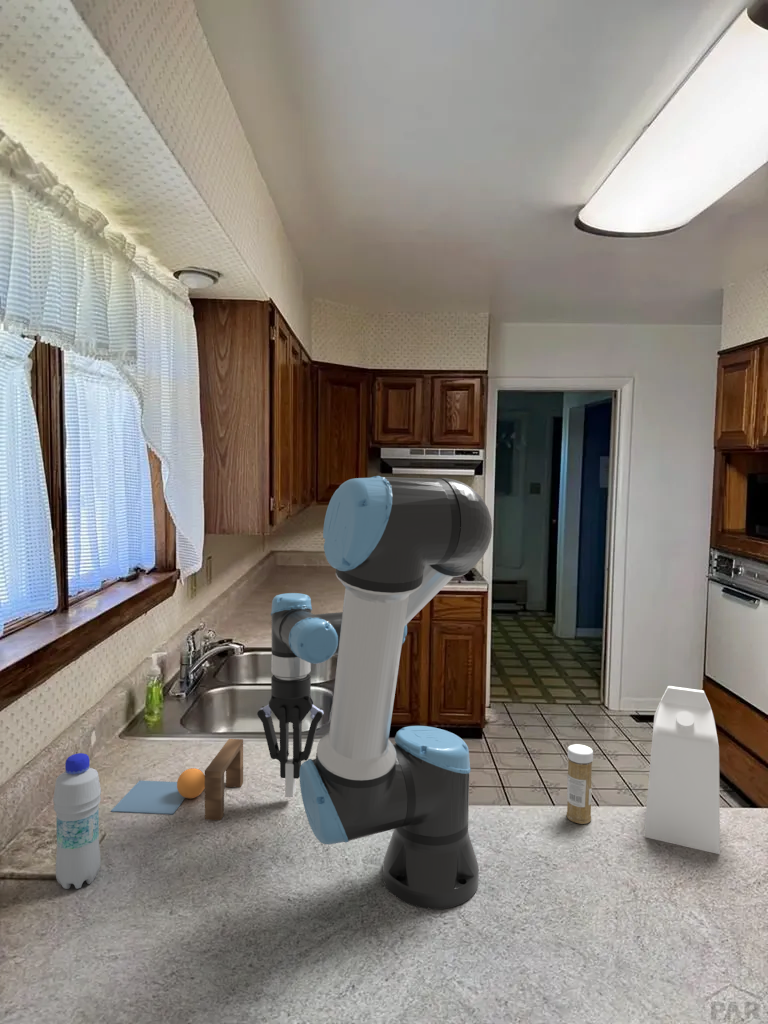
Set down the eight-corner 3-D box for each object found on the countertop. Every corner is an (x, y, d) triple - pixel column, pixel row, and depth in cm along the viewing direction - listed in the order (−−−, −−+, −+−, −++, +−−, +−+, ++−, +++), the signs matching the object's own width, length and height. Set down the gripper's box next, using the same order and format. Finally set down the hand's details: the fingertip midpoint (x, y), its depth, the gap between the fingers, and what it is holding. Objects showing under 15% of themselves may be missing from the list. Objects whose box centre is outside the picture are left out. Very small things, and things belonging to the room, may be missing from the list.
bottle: (111, 872, 100) (110, 749, 99) (78, 898, 94) (76, 767, 93) (78, 863, 102) (77, 743, 101) (44, 888, 96) (42, 760, 95)
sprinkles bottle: (596, 820, 117) (598, 750, 117) (580, 827, 115) (582, 755, 114) (576, 809, 121) (578, 741, 120) (560, 816, 118) (562, 746, 118)
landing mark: (173, 814, 118) (173, 813, 118) (111, 811, 118) (111, 810, 118) (196, 783, 130) (196, 782, 130) (139, 781, 130) (139, 780, 130)
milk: (715, 821, 117) (721, 684, 116) (719, 854, 107) (725, 704, 106) (646, 806, 122) (650, 675, 121) (643, 836, 112) (648, 693, 111)
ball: (194, 772, 121) (168, 779, 122) (202, 799, 121) (176, 806, 122) (205, 760, 127) (180, 767, 127) (213, 786, 126) (188, 793, 127)
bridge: (243, 782, 130) (243, 739, 130) (220, 820, 116) (220, 771, 115) (229, 782, 130) (228, 738, 130) (204, 819, 116) (204, 770, 115)
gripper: (327, 669, 124) (326, 785, 125) (262, 667, 125) (262, 782, 126) (321, 681, 117) (320, 804, 118) (252, 679, 118) (252, 801, 119)
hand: (290, 793), depth 122 cm, fingers closed
